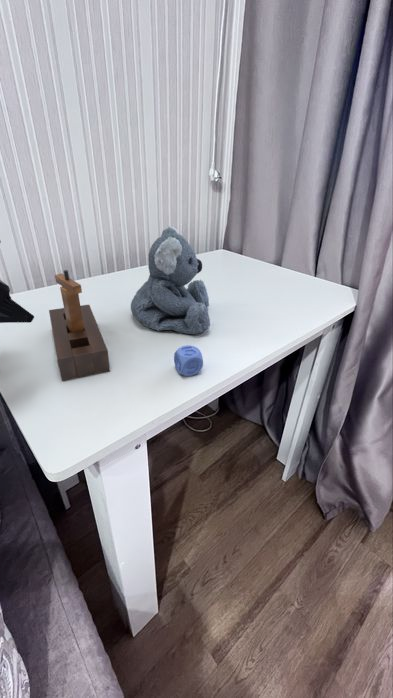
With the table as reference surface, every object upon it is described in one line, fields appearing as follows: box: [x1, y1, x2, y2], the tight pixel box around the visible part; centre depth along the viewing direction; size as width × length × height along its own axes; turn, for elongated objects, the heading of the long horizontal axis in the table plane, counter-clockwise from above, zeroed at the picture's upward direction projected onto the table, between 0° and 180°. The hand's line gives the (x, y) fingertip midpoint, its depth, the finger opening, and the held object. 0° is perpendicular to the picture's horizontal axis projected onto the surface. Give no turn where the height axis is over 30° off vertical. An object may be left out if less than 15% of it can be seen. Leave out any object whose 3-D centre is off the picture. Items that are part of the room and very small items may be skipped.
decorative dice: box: [173, 344, 204, 377], centre depth 58 cm, size 4×4×4 cm
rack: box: [48, 304, 111, 382], centre depth 63 cm, size 8×19×4 cm, turn 24°
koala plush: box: [130, 226, 211, 335], centre depth 71 cm, size 17×18×20 cm
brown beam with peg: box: [54, 269, 84, 333], centre depth 60 cm, size 2×7×16 cm, turn 44°
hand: (20, 309), depth 53 cm, fingers open, 9 cm apart
